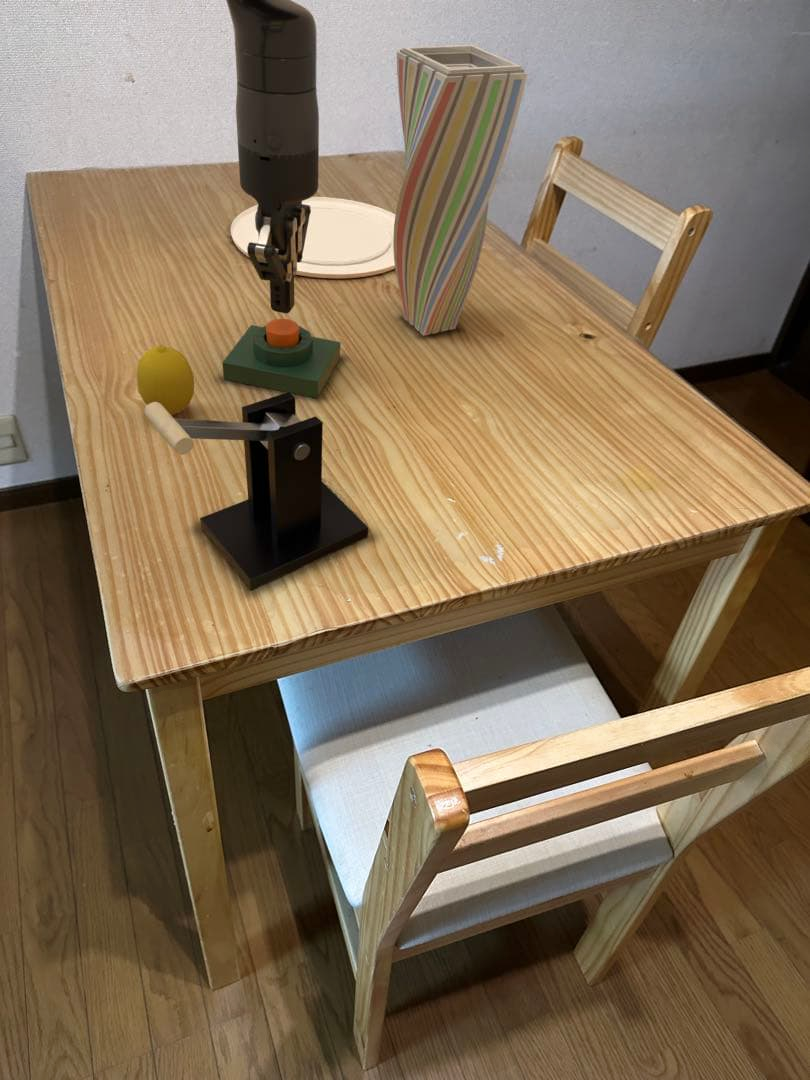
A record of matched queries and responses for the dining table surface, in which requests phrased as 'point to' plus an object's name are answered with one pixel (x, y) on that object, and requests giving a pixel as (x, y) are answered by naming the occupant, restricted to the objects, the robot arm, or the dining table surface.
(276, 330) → the button
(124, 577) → the dining table surface
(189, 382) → the lemon
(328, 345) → the button box
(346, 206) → the plate
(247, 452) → the bracket
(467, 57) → the vase
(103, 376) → the dining table surface
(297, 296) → the dining table surface
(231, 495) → the dining table surface
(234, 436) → the lever
